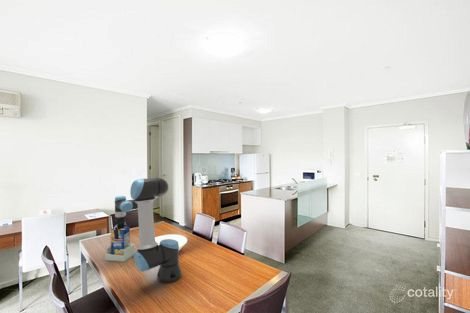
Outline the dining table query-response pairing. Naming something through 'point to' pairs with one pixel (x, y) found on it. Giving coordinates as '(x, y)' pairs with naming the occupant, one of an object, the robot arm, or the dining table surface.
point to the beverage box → (120, 241)
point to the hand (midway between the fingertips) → (120, 246)
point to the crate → (119, 258)
